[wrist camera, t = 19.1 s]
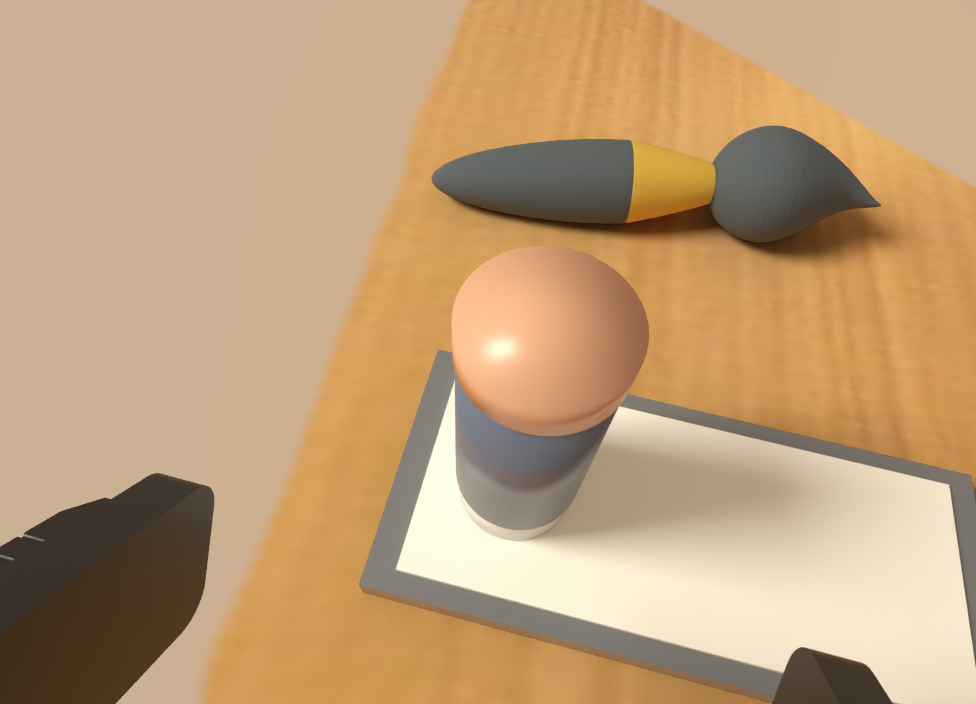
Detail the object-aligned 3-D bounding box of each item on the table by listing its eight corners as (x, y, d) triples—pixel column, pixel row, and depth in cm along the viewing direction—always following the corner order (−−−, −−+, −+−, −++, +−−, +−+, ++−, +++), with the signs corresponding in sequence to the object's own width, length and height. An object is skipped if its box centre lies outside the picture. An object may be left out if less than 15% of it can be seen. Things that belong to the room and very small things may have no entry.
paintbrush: (430, 258, 29) (427, 174, 25) (433, 179, 31) (430, 91, 27) (853, 265, 30) (921, 186, 26) (822, 188, 33) (879, 105, 28)
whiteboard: (949, 486, 24) (975, 473, 23) (988, 761, 20) (1024, 762, 18) (438, 365, 26) (438, 346, 25) (363, 592, 21) (358, 583, 20)
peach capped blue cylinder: (584, 446, 23) (660, 269, 14) (560, 560, 21) (633, 434, 12) (473, 417, 23) (481, 228, 15) (438, 525, 21) (425, 380, 12)
